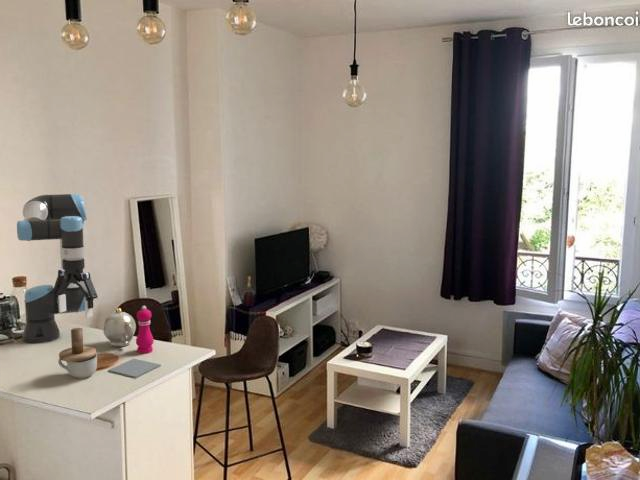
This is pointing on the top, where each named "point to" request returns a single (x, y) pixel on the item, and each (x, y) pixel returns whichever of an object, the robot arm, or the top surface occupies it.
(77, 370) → the teacup
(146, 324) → the pepper mill
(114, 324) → the teapot
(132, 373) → the mat
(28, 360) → the top surface
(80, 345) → the lid
